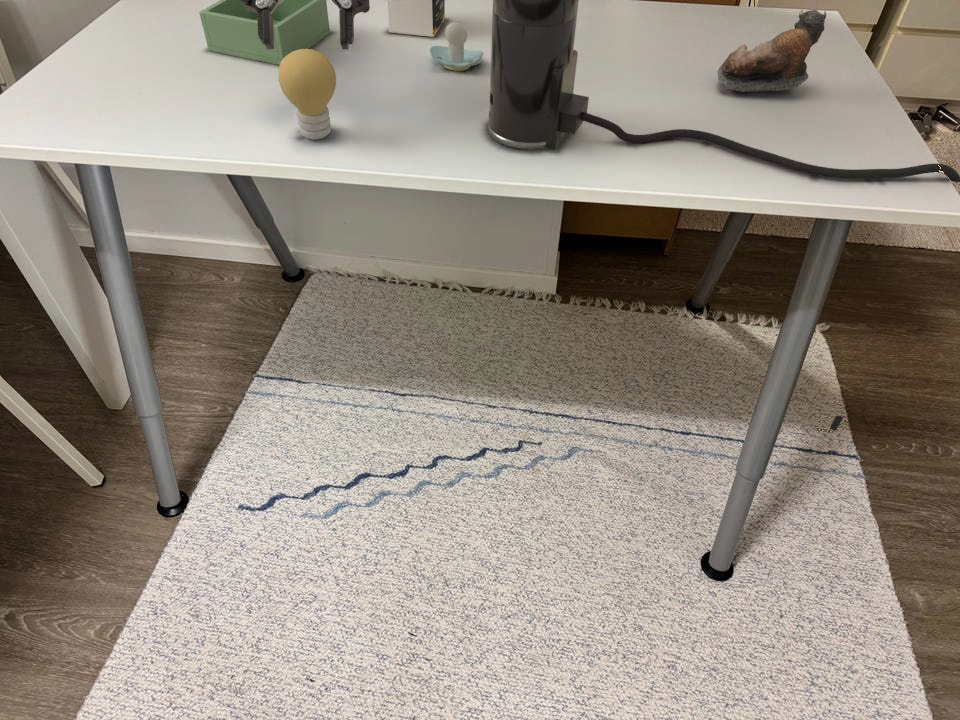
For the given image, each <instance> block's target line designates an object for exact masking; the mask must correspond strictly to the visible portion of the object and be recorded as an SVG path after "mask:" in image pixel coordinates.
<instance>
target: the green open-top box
mask: <svg viewBox="0 0 960 720" xmlns="http://www.w3.org/2000/svg"><path fill="white" fill-rule="evenodd" d="M198 12H199V17H200V21H201V26H202V29H203V30H202V31H203V33H204V38H205V41H206V47H207V51H209V52H214V53H219V54H222V55H223V54H224V55H229V56H233V57H238V58H242V59H248V60H252V61H253V60H254V61H257V62H258V61H259V62H263V63H267V64H272V65H277V66H280V63H281V61H282V60H283V58H284V57H285V56H287V55H288V54H289V53H291V52H293V51H296V50H299V49H311V48H312V47H313V46H315V45H316V44H317V43H318V42H321V40H323V39H324V38H326V37H327V36H328V35H330V34H331V28H330V20H329V13H328V12H329V10H328V4H327V0H285V1H284V2H283V3H282V4H280V5H278V7H277V8H276V9H275V11H274V12H273V13H272V17H273V30H274V49H267V48H266V46H265V45H264V44H262V42H261V40H260V38H259V36H258V25H257V13H255V12H248V11H247V10H246V9H245V7H244V5H243V4H242V2H241V0H217V2H214V3H213V4H210V5H209V6H207V7H206V8H204V9H202V10H200V11H198Z"/></svg>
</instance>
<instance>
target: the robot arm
mask: <svg viewBox="0 0 960 720" xmlns="http://www.w3.org/2000/svg"><path fill="white" fill-rule="evenodd" d="M284 1H285V0H241V2H242V4H243V5H244V7H245V9H246V10H247V11H248V12H255V13H257V25H258V36H259V38H260V40H261V42H262V44H264V45H265V46H266V48H267V49H274V30H273V17H272V13H273V12H274V11H275V9H276V8H277V7H278V5H280V4H282V3H283V2H284ZM331 2H332V3H333V4H334V5H336V7H337V8H338V11H339V12H338V13H339V44H340V47H341V50H342V51H343V50H346V51H347V50H349V48H350V46H349V45H353V43H354V42H355V25H354V24H355V23H354V22H355V21H354V19H355V16H356V15H358V14H360V13H362V14H366V13H369V11H370V8H371V6H370V0H331ZM579 2H580V0H492V19H491V50H490V54H491V55H490V81H489V83H490V84H489V85H490V86H489V110H488V122H487V131H488V134H489V135H490V137H491V138H492V139H493V140H494V141H496V142H497V143H500V144H501V145H503V146H507V147H509V148H514V149H520V150H540V149H550V150H555V149H556V148H557V147H558V145H560V142H562V140H563V139H564V137H565V134H568V135H569V134H570V135H576V134H577V132H578V130H579V128H580V127H581V126H582V124H583V122H586V123H588V124H591V125H595V126H598V127H600V128H603V129H605V130H607V131H609V132H610V133H613V135H615V137H617V138H618V139H620V140H621V141H623V142H626V143H630V144H649V143H654V142H655V143H656V142H661V141H664V140H670V139H671V140H672V139H683V138H684V139H692V140H693V139H694V140H699V141H705V142H708V143H711V144H715V145H717V146H721V147H723V148H725V149H728V150H730V151H734V152H737V153H739V154H742V155H745V156H748V157H751V158H755V159H758V160H762V161H764V162H767V163H770V164H774V165H777V166H780V167H784V168H786V169H789V170H793V171H797V172H801V173H805V174H808V175H815V176H819V177H827V178H832V179H833V178H834V179H835V178H836V179H850V180H851V179H853V180H855V179H856V180H857V179H899V178H906V177H907V178H908V177H912V176H913V177H914V176H918V175H924V174H931V173H932V174H935V173H934V172H938V173H937V174H942V175H944V174H945V175H944V176H946V177H947V179H949V180H950V182H954V183H960V174H959V172H958V171H957V170H956V169H954V168H953V167H952V166H949V165H948V164H945V163H926V164H920V165H914V166H909V167H901V168H865V169H864V168H863V169H856V168H855V169H849V168H848V169H847V168H834V167H827V166H819V165H814V164H810V163H805V162H801V161H798V160H795V159H791V158H788V157H784V156H781V155H778V154H776V153H772V152H769V151H766V150H763V149H759V148H755V147H752V146H749V145H746V144H743V143H740V142H737V141H734V140H732V139H729V138H726V137H724V136H721V135H718V134H714V133H711V132H707V131H703V130H702V131H701V130H697V129H689V128H688V129H687V128H677V129H668V130H663V131H659V132H653V133H648V134H633V133H628V132H626V131H625V130H624V129H623V128H621V126H619V125H618V124H616V123H615V122H613V121H610V120H609V119H605V118H603V117H600V116H597V115H594V114H591V113H588V108H589V107H588V106H589V101H590V100H589V98H590V97H589V96H586V95H581V94H576V93H574V89H575V81H576V80H575V79H576V72H577V63H578V55H579V53H578V51H577V50H576V49H574V46H575V38H576V37H575V36H576V29H577V18H578V9H579ZM938 165H939V166H940V167H941V169H940V167H939V166H938ZM939 170H940V171H943V172H944V174H943V173H940V172H939ZM843 419H844V416H841V415H835V417H834V419H833V421H832V422H831V424H830V426H829V428H830V430H832V431H836V430H838V428H839V426H840V424H841V422H842V421H843Z"/></svg>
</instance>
